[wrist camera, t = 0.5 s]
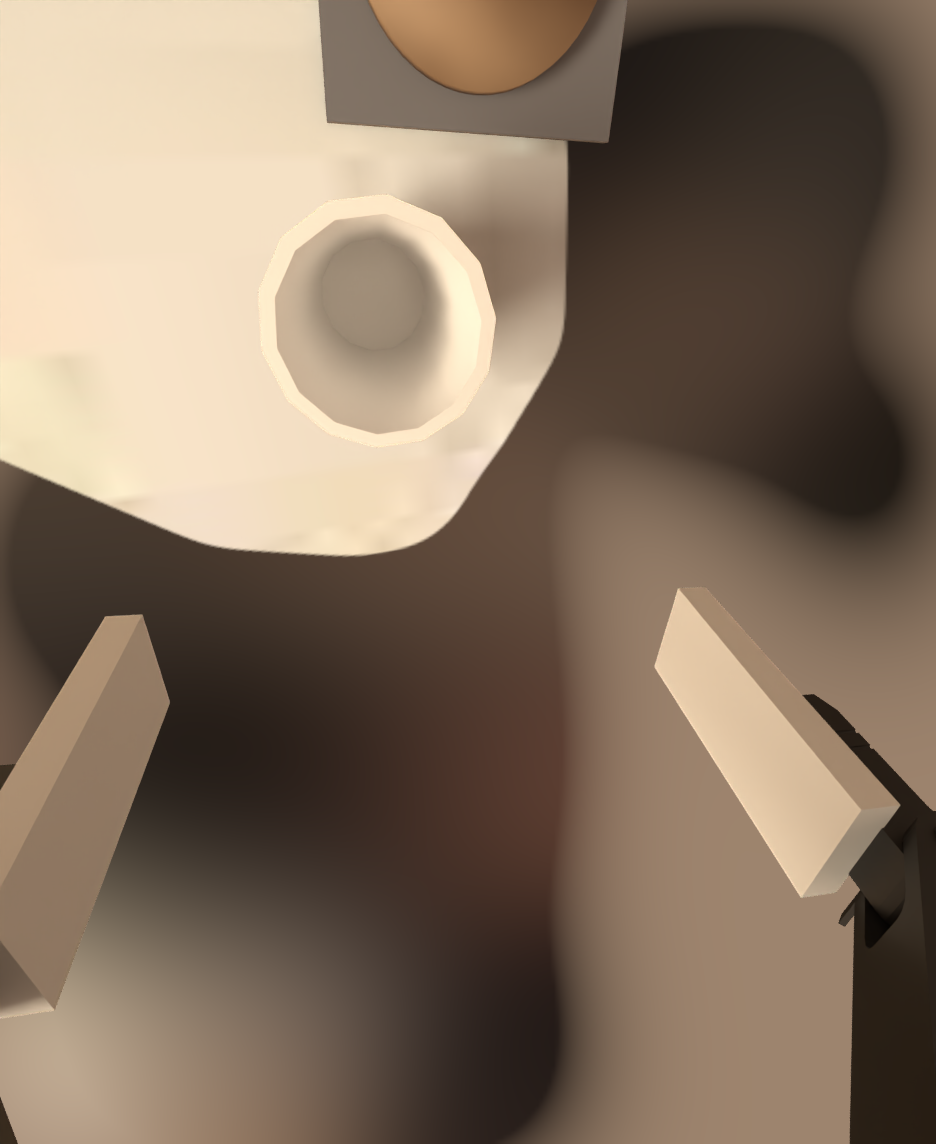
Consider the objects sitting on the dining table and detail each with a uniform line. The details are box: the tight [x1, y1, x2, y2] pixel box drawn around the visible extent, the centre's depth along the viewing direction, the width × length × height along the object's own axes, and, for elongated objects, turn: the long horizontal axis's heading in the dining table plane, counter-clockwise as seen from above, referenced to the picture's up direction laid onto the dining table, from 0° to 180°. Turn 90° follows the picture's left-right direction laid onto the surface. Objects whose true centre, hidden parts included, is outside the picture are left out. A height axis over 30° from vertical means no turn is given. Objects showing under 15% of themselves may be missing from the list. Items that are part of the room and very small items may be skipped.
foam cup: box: [258, 194, 496, 448], centre depth 28 cm, size 10×9×13 cm
